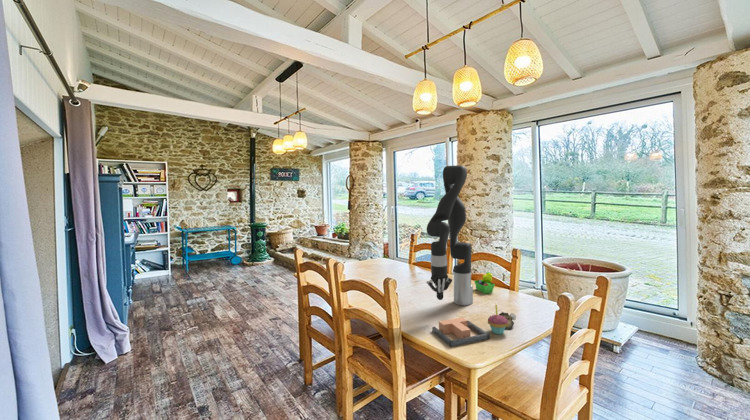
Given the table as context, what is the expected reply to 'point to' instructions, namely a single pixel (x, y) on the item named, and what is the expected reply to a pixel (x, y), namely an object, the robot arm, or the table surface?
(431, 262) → the robot arm
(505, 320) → the cupcake
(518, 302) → the table surface
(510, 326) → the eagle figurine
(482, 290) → the fruit basket
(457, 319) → the T-block
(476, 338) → the rail bay
